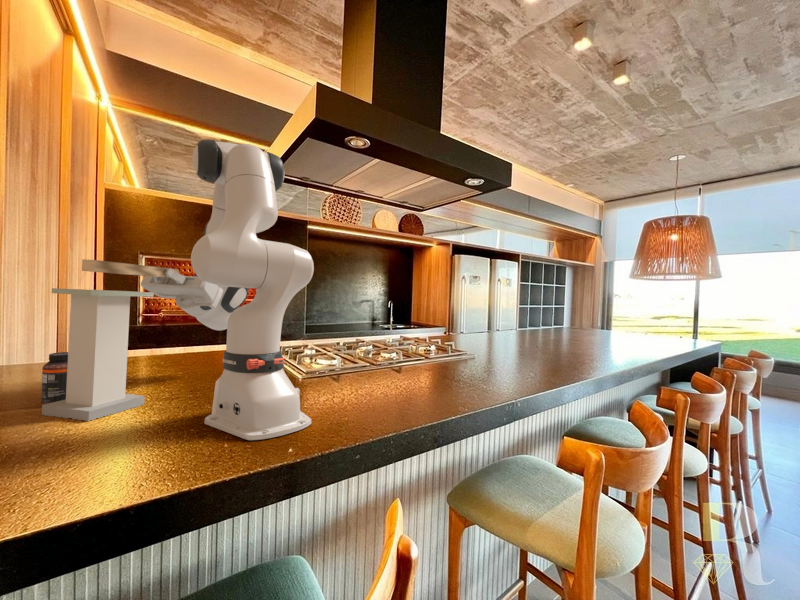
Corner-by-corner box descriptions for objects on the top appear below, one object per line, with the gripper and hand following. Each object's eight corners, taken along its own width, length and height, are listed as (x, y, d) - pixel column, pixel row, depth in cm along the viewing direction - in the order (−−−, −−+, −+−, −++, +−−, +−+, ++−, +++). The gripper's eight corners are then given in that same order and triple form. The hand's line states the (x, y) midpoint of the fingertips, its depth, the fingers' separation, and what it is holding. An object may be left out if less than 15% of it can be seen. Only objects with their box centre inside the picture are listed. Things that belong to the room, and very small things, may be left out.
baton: (169, 277, 95) (170, 269, 95) (178, 278, 94) (179, 269, 94) (81, 270, 73) (82, 259, 73) (92, 271, 73) (92, 259, 73)
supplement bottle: (76, 397, 83) (79, 350, 83) (77, 404, 79) (80, 354, 79) (41, 402, 79) (43, 352, 79) (40, 408, 75) (42, 356, 75)
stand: (110, 396, 85) (116, 290, 85) (151, 402, 83) (157, 292, 83) (41, 414, 72) (48, 288, 72) (88, 421, 69) (95, 290, 69)
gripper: (168, 287, 105) (132, 259, 94) (228, 290, 101) (198, 261, 90) (158, 305, 102) (119, 279, 91) (219, 309, 98) (187, 282, 87)
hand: (159, 270), depth 90 cm, fingers closed on baton, 3 cm apart
